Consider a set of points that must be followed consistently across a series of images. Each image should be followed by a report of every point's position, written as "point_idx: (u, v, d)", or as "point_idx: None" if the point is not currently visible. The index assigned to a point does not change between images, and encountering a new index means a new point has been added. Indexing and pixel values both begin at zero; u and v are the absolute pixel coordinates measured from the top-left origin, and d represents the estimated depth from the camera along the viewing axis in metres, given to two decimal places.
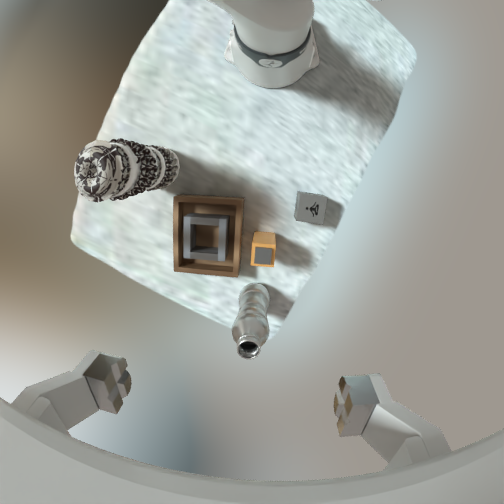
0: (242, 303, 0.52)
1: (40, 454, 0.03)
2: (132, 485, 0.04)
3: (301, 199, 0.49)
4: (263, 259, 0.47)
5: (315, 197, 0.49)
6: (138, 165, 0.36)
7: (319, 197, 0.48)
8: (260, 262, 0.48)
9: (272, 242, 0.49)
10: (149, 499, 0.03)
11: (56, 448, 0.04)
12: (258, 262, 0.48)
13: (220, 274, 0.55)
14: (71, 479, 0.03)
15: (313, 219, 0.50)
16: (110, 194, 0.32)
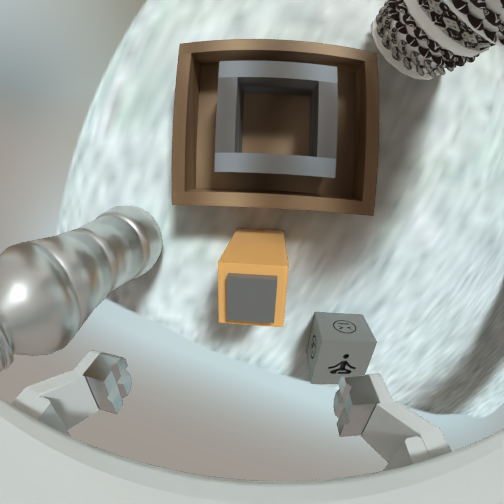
0: (106, 234, 0.17)
1: (40, 454, 0.03)
2: (132, 485, 0.04)
3: (365, 345, 0.22)
4: (241, 302, 0.16)
5: (364, 366, 0.22)
6: None
7: (363, 372, 0.23)
8: (231, 294, 0.16)
9: None
10: (149, 499, 0.03)
11: (56, 448, 0.04)
12: (230, 288, 0.16)
13: (175, 159, 0.19)
14: (71, 479, 0.03)
15: (322, 368, 0.23)
16: None
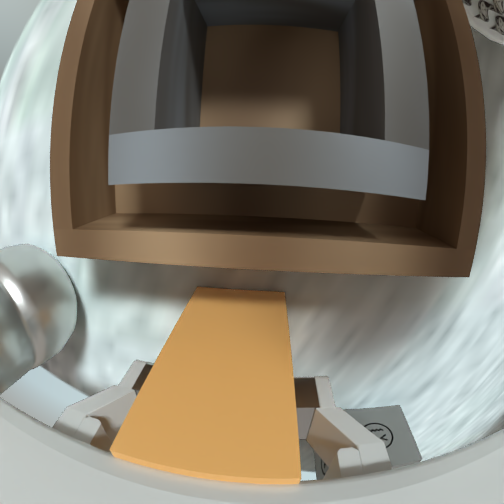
0: None
1: (40, 454, 0.03)
2: (132, 485, 0.04)
3: (405, 465, 0.10)
4: None
5: None
6: None
7: None
8: None
9: None
10: (149, 499, 0.03)
11: (56, 448, 0.04)
12: None
13: (55, 162, 0.07)
14: (71, 479, 0.03)
15: None
16: None
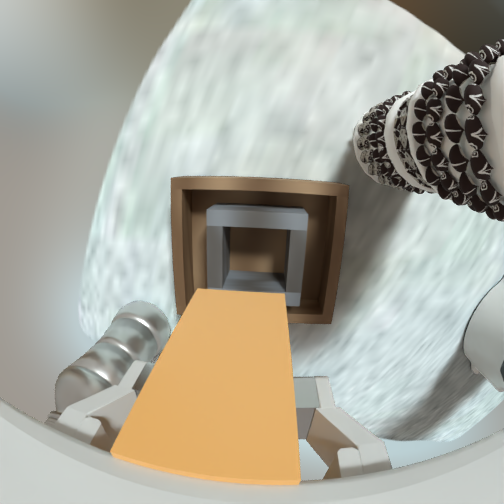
0: (131, 341, 0.24)
1: (40, 454, 0.03)
2: (132, 485, 0.04)
3: None
4: None
5: None
6: None
7: None
8: None
9: None
10: (149, 499, 0.03)
11: (56, 448, 0.04)
12: None
13: (177, 283, 0.26)
14: (71, 479, 0.03)
15: None
16: None
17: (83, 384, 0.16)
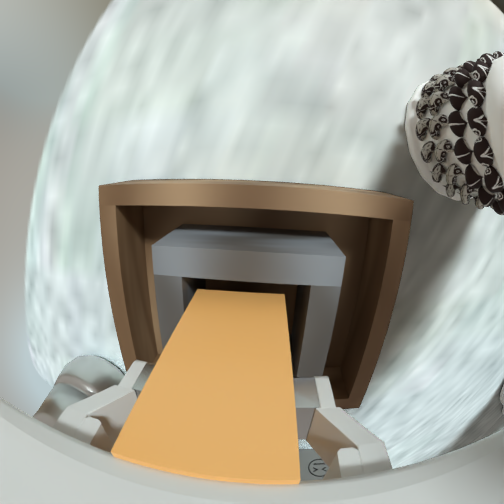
0: None
1: (40, 454, 0.03)
2: (132, 485, 0.04)
3: None
4: None
5: None
6: None
7: None
8: None
9: None
10: (149, 499, 0.03)
11: (56, 448, 0.04)
12: None
13: (124, 351, 0.15)
14: (71, 479, 0.03)
15: None
16: None
17: None
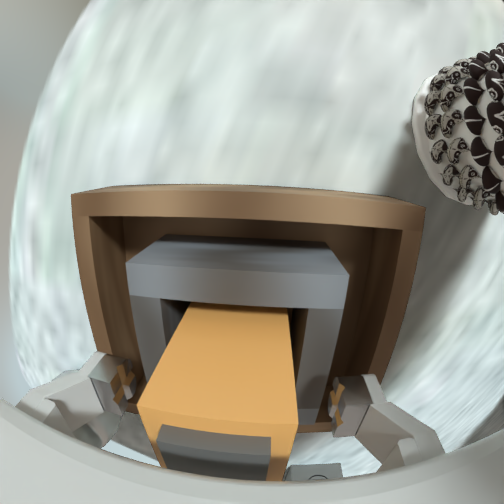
0: None
1: (40, 454, 0.03)
2: (132, 485, 0.04)
3: None
4: (195, 472, 0.06)
5: None
6: None
7: None
8: (173, 461, 0.06)
9: None
10: (149, 499, 0.03)
11: (56, 448, 0.04)
12: (169, 456, 0.06)
13: None
14: (71, 479, 0.03)
15: None
16: None
17: None
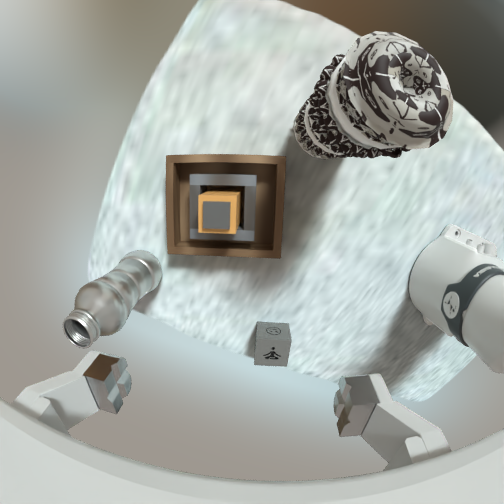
0: (133, 271, 0.34)
1: (40, 454, 0.03)
2: (132, 485, 0.04)
3: (284, 342, 0.39)
4: (210, 216, 0.29)
5: (286, 355, 0.40)
6: None
7: (286, 359, 0.40)
8: (205, 211, 0.29)
9: (236, 226, 0.31)
10: (149, 499, 0.03)
11: (56, 449, 0.04)
12: (205, 208, 0.28)
13: (168, 229, 0.36)
14: (71, 479, 0.03)
15: (259, 355, 0.40)
16: (360, 110, 0.13)
17: (99, 289, 0.26)
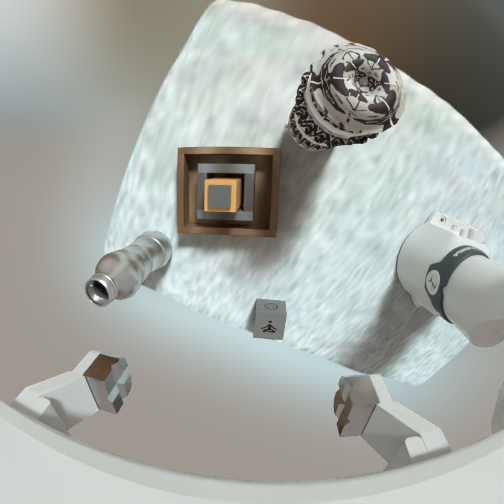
0: (147, 247, 0.39)
1: (40, 454, 0.03)
2: (132, 485, 0.04)
3: (280, 316, 0.44)
4: (214, 197, 0.34)
5: (282, 329, 0.45)
6: None
7: (282, 332, 0.45)
8: (210, 193, 0.34)
9: (236, 206, 0.36)
10: (149, 499, 0.03)
11: (56, 448, 0.04)
12: (210, 190, 0.34)
13: (178, 210, 0.41)
14: (71, 479, 0.03)
15: (258, 328, 0.45)
16: (323, 106, 0.18)
17: (118, 257, 0.32)
